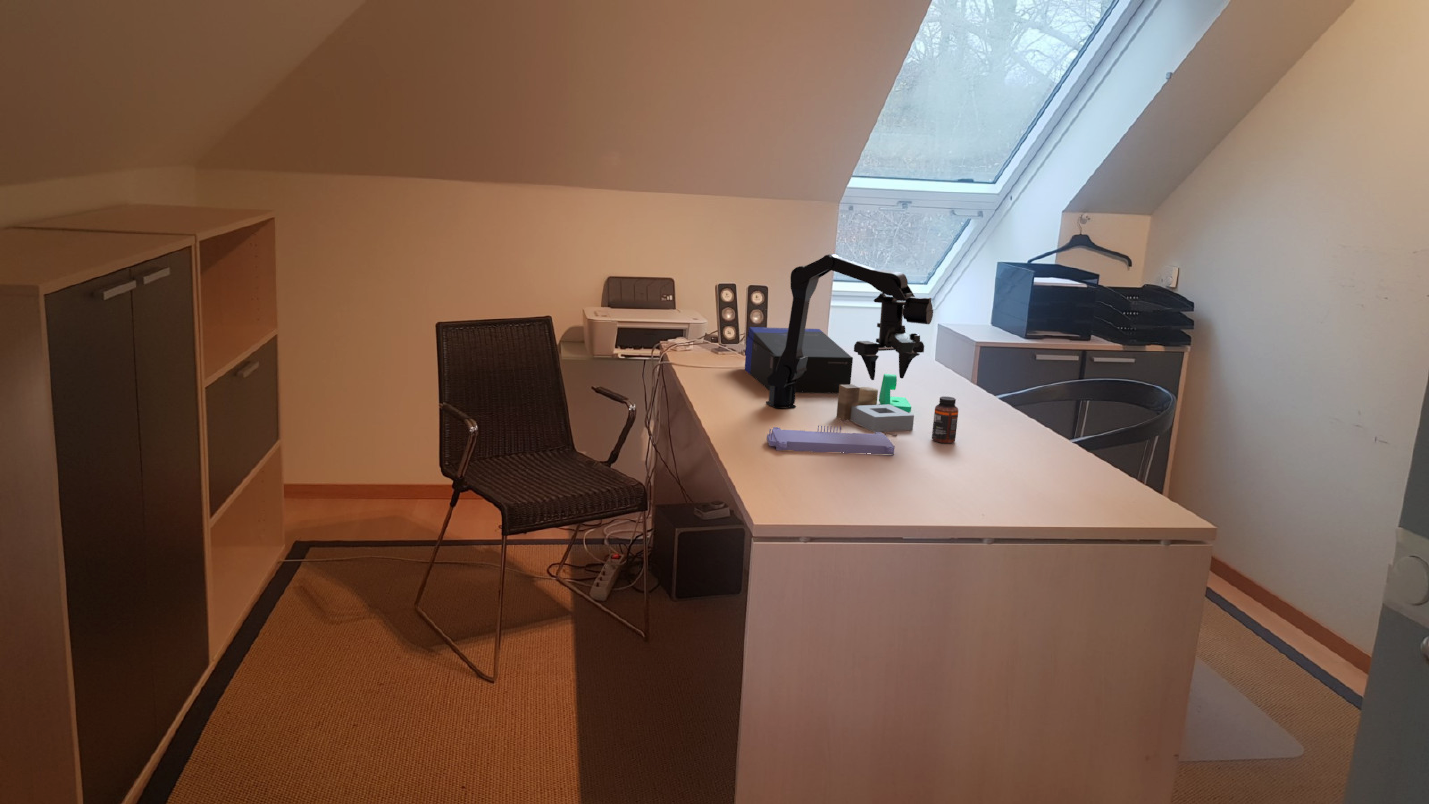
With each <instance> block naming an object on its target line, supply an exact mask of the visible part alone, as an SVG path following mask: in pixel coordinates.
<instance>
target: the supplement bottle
mask: <svg viewBox="0 0 1429 804" xmlns="http://www.w3.org/2000/svg"><path fill="white" fill-rule="evenodd" d="M956 400H957V399H956V398H955V397H952V396H944V395H943V396H940V397H939V401H938V402H939V403H938V404H936V405H935V407H934V414H933V422H932V423H933V424H932V431H931V432H932V434H931V439H932V441H934V442H936V443H940V444H954V443H955V442H956V437H957V429H958V428H957V427H958V418H959V408H958V407H957V406H956Z"/></svg>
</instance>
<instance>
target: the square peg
mask: <svg viewBox="0 0 1429 804" xmlns="http://www.w3.org/2000/svg"><path fill="white" fill-rule="evenodd" d="M859 391H860V388H859V386H857V385H855V384H853V383H850V385H839V393H838V396H837V406H836V418H838V419H839V418H840V420H842V421H844V422H846V420H849V421H851V420H850V418H851V407H852V406H858V401H859Z"/></svg>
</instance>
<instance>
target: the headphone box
mask: <svg viewBox="0 0 1429 804" xmlns="http://www.w3.org/2000/svg"><path fill="white" fill-rule="evenodd" d="M787 334H788V327H759V326H757V327H756V326H749V327H748V331H747V336H746V344H745V350H744V356H745V359H744V360H745V362H744V371H746V372H747V374H749V376H751V377H752V378H753V379H755V380H756V381H757V382H758V383H760V384H761V385H762V386H763V387H764V388H766V389H767V390H768V391H769V392H770V385H769V384H768V380H767V378H768V377H769V376H770V375H771V374H773V373H774V372H775V371H776V368H777V365H778V362H779V359H780V357H781V355H782V353H783V351H784V349H785V347H786V340H787ZM802 352H803V356H808V360H807V363H806V369H807V370H806V371H804V373H803V375H802V376H801V377H799V378H798V380H797V382H796V383H794V385H795V390H796V394H839V385H850V384H852V383H851V382H852V373H853V364H854V363H853V362H854V360H853V359H854V358H853V356H851V355H850V354H849V353H848V352H847V351H845V349H843V348H842V347H841V346H840V345H839V344H837V343H836V342H835V341H834V340H833V339H831V337H829V336H828V335H827V334H826V333H824V332H823V330H821V329H820V328H805V333H804V339H803V346H802Z"/></svg>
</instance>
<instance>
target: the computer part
mask: <svg viewBox="0 0 1429 804" xmlns="http://www.w3.org/2000/svg"><path fill="white" fill-rule="evenodd" d="M826 427H827V428H826ZM819 428H820V431H819ZM835 428H836V432H835ZM838 428H839V432H838ZM841 430H842V427H841V426H840V427H839V426H838V425H837V426H835V425H834V426H833V432H832V425H830V428H829V426H826V425H824V427H823V425H821V426H820V425H817V431H813V430H812V431H811V430H810V431H809V430H801V429H800V430H798V429H782V428H781V427H778V426H777V427H776V426H774V427H773V428H772V429H771V428H769V434H768V433H767V434H766V441H767V444H768V445H769V446H771V447H775V448H776V449H775V450H776V451H781V450H794V451H793V452H804V451H810V452H811V451H812V452H811V453H826V452H841V453H840V454H848V453H866V454H865V455H868V454H867V453H871V454H893V455H894V454H895V448H896V446H895V445H894V444H893V442H892V441H891V440H890V439H889V437H887V435H886V434H884V433H882V432H874V433H864V432H863V433H862V432H861V433H860V432H842V431H841ZM810 452H809V453H810ZM843 452H844V453H843ZM893 455H892V456H893ZM894 456H895V455H894Z"/></svg>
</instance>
